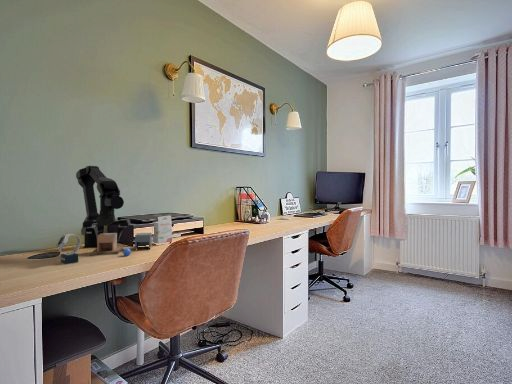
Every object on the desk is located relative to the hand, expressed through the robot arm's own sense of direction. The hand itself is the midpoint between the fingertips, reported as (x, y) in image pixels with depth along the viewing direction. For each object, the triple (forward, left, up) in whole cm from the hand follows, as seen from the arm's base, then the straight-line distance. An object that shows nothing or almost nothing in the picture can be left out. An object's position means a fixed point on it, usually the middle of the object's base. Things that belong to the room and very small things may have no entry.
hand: (107, 241), depth 131 cm
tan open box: (0, 0, -4) cm, 4 cm away
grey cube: (+15, +4, -4) cm, 16 cm away
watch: (-10, -16, -5) cm, 19 cm away
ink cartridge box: (+23, +14, -5) cm, 27 cm away
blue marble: (+10, -10, -3) cm, 14 cm away
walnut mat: (0, 0, -4) cm, 4 cm away
